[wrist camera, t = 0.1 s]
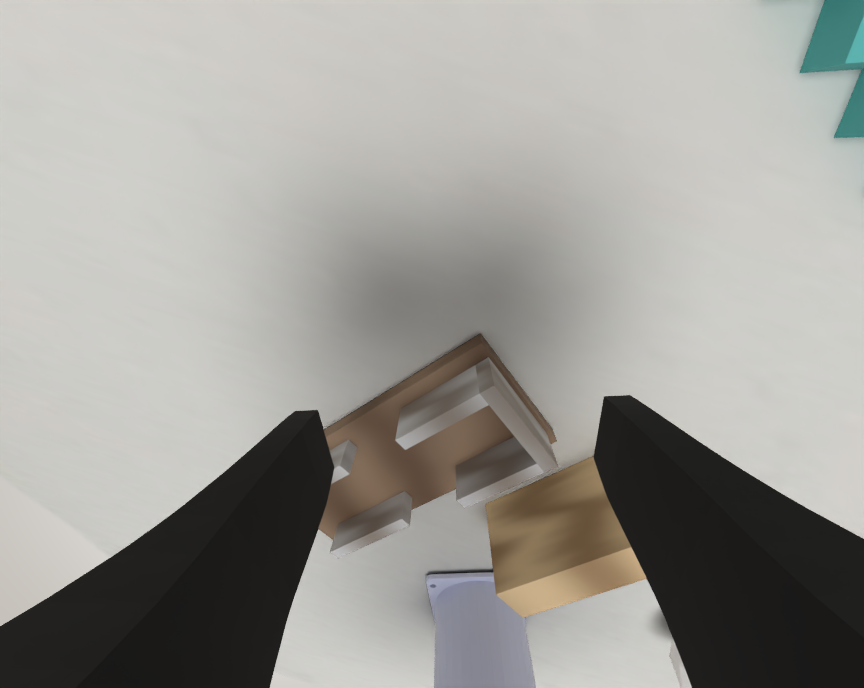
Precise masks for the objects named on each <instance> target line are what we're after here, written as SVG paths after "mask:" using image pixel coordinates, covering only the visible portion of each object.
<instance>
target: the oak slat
mask: <svg viewBox="0 0 864 688" xmlns="http://www.w3.org/2000/svg"><path fill="white" fill-rule="evenodd" d="M486 511H487V520H488V529H489V538H490V546H491V555H492V564H493V573H494V582H495V591H496V595H497V596H498V597H499V598H501V599H502V600H503V601H504V602H505V603H506V604H507V605H509V606H510V607H511V608H512V609H513V610H514V611H515V612H517V613H518V614H519V615H520V616H521V617H522V618H524V617H527V616H531V615H534V614H537V613H540V612H543V611H546V610H549V609H553V608H556V607H559V606H562V605H565V604H568V603H571V602H575V601H578V600H581V599H584V598H587V597H590V596H593V595H596V594H600V593H603V592H606V591H609V590H612V589H615V588H618V587H622V586H625V585H628V584H631V583H634V582H637V581H640V580H644V579H647V578H646V576H645V574H644V572H643V570H642V568H641V566H640V564H639V562H638V560H637V558H636V556H635V554H634V552H633V550H632V548H631V545H630V543H629V541H628V539H627V537H626V535H625V533H624V531H623V529H622V527H621V525H620V523H619V521H618V519H617V517H616V515H615V513H614V511H613V509H612V506H611V504H610V502H609V500H608V498H607V496H606V493H605V490H604V487H603V484H602V482H601V479H600V476H599V473H598V470H597V467H596V464H595V461H594V456H593V457H590V458H588V459H586V460H584V461H581V462H579V463H577V464H575V465H572V466H570V467H568V468H566V469H563V470H561V471H559V472H557V473H554V474H552V475H550V476H548V477H545V478H543V479H541V480H539V481H536V482H534V483H532V484H530V485H527V486H525V487H523V488H521V489H518V490H516V491H514V492H512V493H509V494H507V495H505V496H503V497H500V498H498V499H496V500H494V501H491V502H489V503H487V504H486Z"/></svg>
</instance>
